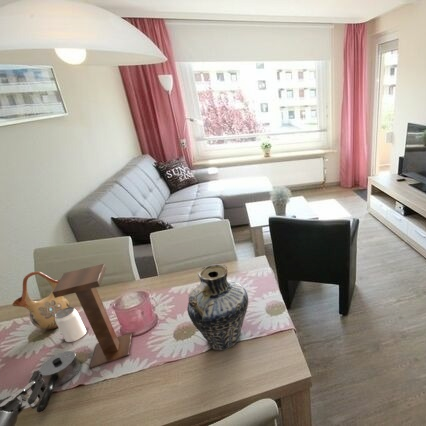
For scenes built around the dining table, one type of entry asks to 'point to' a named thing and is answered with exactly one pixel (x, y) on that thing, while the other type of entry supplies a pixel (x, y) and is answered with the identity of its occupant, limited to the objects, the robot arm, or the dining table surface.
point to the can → (70, 324)
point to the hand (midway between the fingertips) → (16, 380)
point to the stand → (95, 312)
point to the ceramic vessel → (42, 304)
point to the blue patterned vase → (218, 307)
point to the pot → (57, 373)
